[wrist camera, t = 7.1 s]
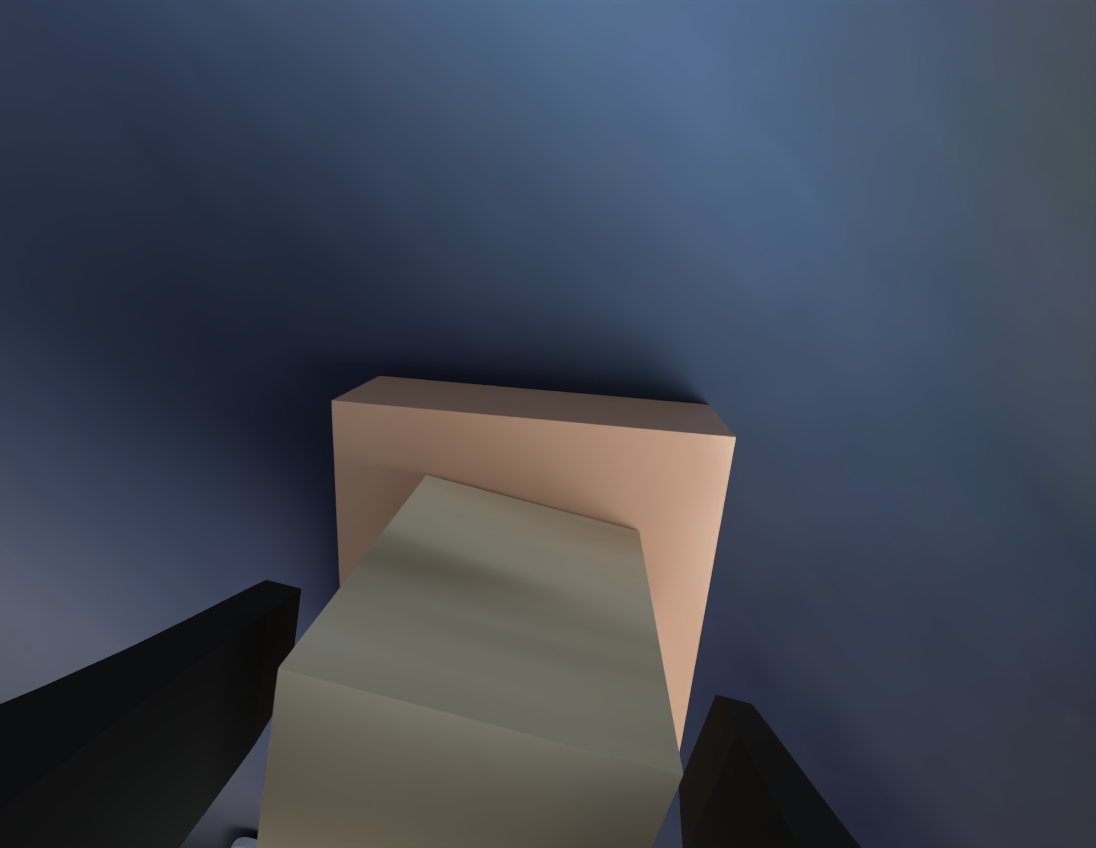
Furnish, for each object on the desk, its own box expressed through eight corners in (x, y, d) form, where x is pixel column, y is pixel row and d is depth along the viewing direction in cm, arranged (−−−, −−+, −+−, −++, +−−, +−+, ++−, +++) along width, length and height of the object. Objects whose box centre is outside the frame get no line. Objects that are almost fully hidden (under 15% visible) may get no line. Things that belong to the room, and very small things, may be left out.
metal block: (581, 700, 12) (574, 1023, 7) (391, 651, 12) (244, 937, 7) (639, 531, 11) (683, 775, 6) (426, 474, 11) (277, 668, 6)
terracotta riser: (662, 669, 16) (678, 760, 13) (389, 637, 16) (345, 719, 13) (704, 399, 13) (736, 437, 10) (385, 372, 14) (331, 400, 11)
